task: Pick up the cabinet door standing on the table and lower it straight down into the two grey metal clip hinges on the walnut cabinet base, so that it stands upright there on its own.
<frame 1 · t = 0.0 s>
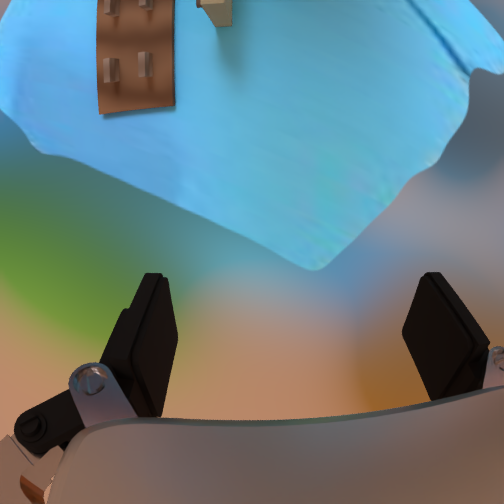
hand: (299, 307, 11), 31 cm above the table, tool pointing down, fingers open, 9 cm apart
hinge base: (135, 35, 31), on the table
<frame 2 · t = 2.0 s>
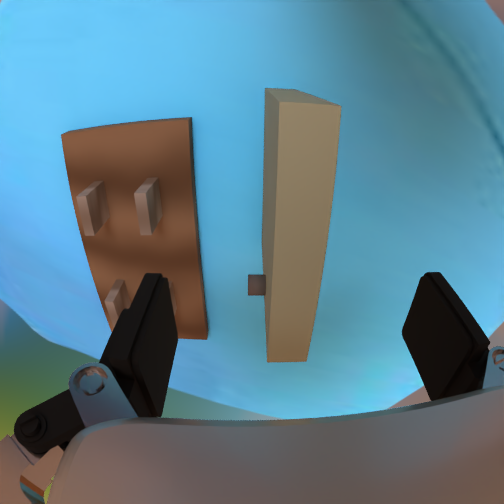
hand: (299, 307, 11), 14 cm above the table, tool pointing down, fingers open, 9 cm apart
cabinet door: (277, 170, 23), on the table
hinge base: (141, 242, 26), on the table
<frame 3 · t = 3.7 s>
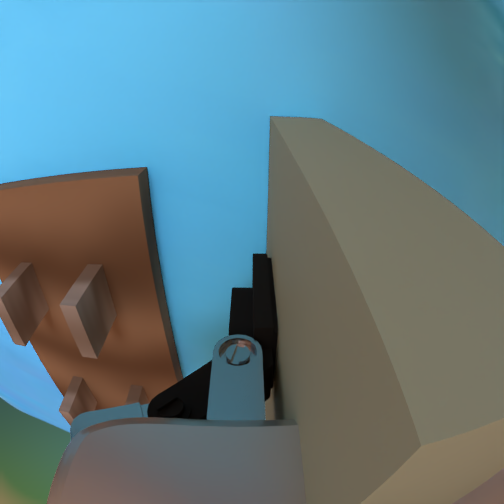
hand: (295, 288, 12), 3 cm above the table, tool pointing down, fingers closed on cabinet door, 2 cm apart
cabinet door: (288, 252, 14), on the table, touching gripper
hinge base: (97, 336, 17), on the table
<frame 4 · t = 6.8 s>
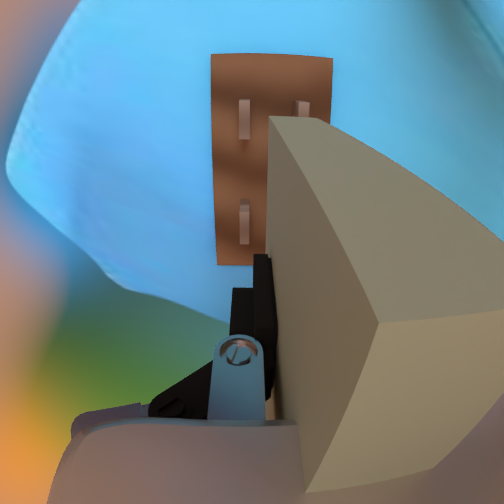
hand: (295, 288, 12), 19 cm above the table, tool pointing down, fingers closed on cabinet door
cabinet door: (286, 245, 15), point 15 cm above the table, touching gripper
hinge base: (269, 163, 28), on the table
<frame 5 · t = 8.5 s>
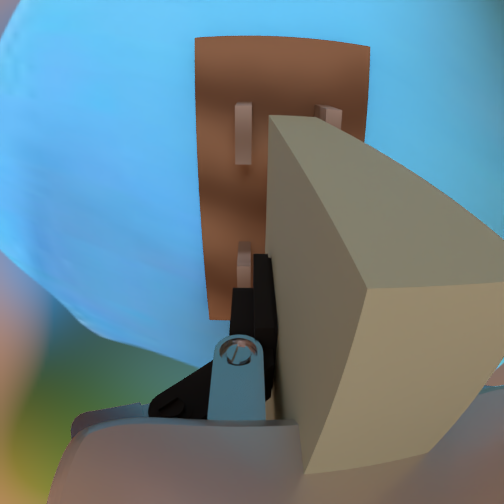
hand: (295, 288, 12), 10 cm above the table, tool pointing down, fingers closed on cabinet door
cabinet door: (286, 242, 15), point 6 cm above the table, touching gripper
hinge base: (278, 192, 21), on the table
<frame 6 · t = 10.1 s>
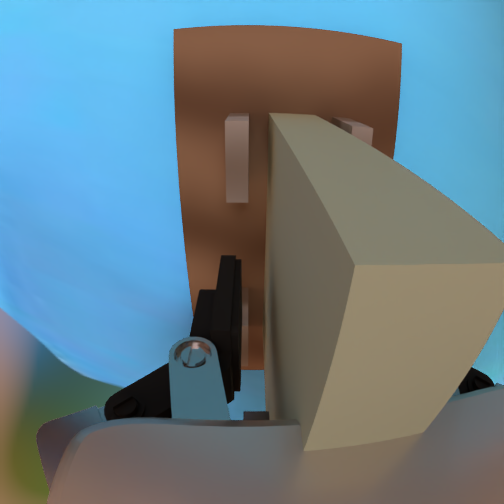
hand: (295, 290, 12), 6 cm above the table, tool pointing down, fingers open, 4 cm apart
cabinet door: (286, 237, 16), point 1 cm above the table, touching hinge base
hinge base: (283, 227, 17), on the table
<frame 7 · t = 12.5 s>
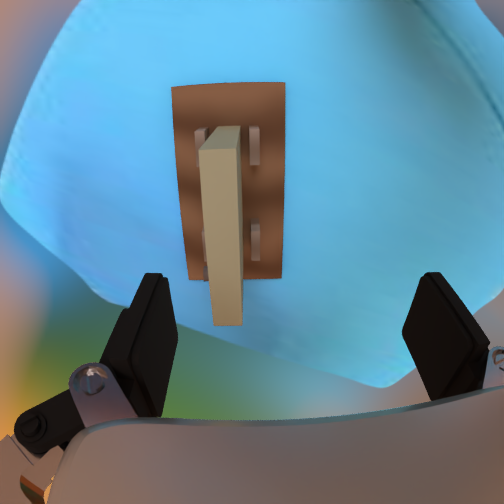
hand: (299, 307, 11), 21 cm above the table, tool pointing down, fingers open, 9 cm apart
cabinet door: (231, 189, 30), point 1 cm above the table, touching hinge base
hinge base: (231, 185, 31), on the table
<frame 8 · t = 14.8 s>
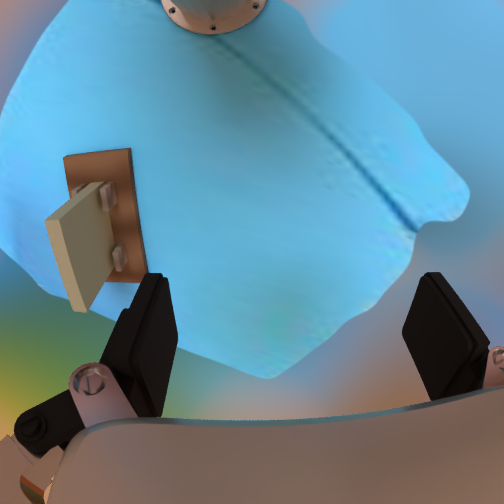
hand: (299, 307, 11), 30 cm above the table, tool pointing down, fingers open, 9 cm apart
cabinet door: (104, 222, 41), point 1 cm above the table, touching hinge base
hinge base: (107, 219, 42), on the table
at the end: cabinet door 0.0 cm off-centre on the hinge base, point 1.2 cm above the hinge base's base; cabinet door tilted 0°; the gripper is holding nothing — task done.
